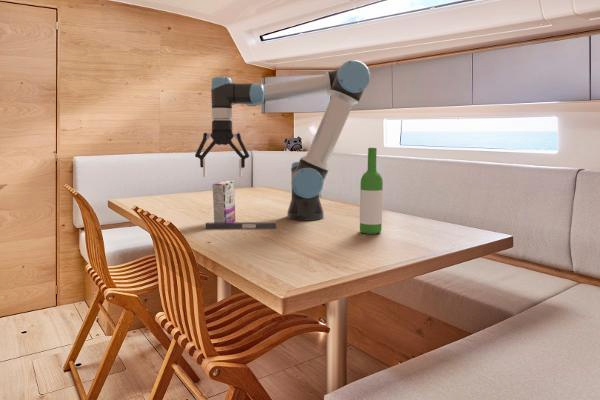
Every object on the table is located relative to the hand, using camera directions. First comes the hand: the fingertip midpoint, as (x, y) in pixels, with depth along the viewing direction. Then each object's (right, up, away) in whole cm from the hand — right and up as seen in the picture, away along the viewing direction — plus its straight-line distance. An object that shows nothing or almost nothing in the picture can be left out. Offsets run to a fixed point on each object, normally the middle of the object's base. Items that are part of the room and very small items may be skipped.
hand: (222, 176), depth 178 cm
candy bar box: (0, -19, +3) cm, 19 cm away
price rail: (+8, -19, -4) cm, 21 cm away
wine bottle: (+55, -21, -12) cm, 60 cm away
